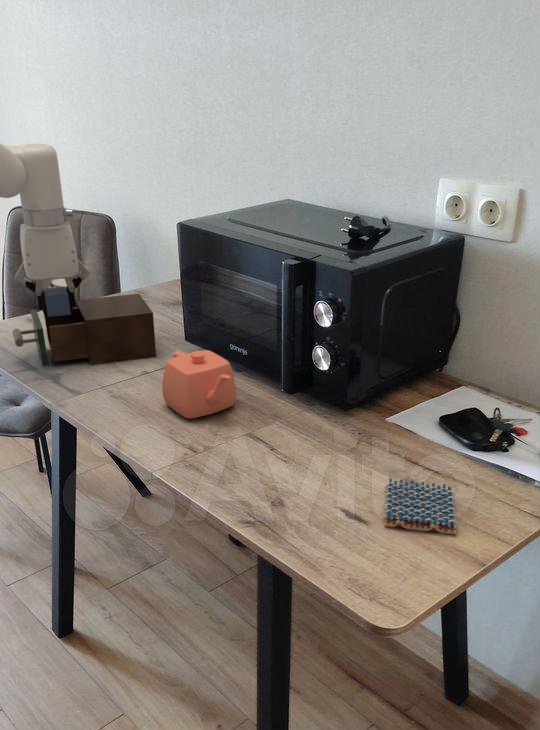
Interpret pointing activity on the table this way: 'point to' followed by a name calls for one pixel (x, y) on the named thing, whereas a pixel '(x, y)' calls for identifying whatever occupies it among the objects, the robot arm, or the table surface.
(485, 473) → the table surface
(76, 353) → the drawer
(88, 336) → the cabinet
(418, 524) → the woven mat
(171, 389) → the teapot
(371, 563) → the table surface
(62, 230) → the robot arm
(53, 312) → the block
